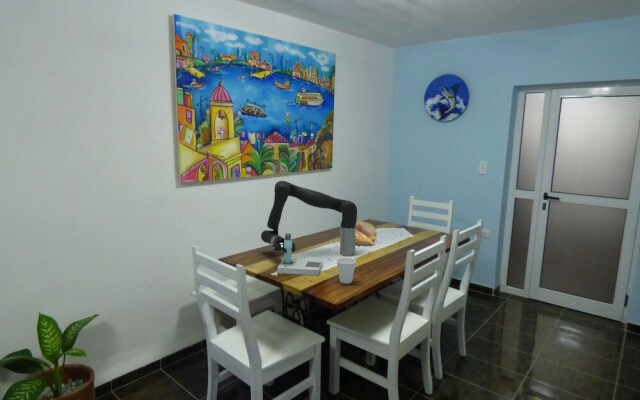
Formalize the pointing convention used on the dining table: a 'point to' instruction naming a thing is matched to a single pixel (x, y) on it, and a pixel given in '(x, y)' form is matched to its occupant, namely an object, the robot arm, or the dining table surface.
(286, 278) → the dining table surface
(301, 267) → the panel
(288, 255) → the plug
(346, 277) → the cup
